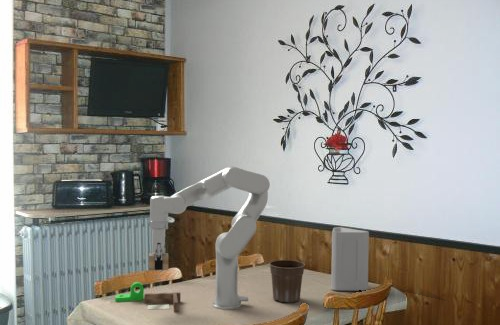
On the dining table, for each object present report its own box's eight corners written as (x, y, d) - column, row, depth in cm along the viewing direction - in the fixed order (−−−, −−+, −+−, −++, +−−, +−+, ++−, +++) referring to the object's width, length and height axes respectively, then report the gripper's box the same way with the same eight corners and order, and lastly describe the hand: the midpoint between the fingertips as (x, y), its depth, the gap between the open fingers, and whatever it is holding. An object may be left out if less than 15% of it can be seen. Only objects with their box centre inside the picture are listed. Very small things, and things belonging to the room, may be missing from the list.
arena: (180, 301, 240) (180, 292, 240) (182, 312, 224) (182, 302, 224) (144, 302, 237) (144, 293, 237) (143, 313, 222) (143, 303, 222)
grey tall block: (318, 285, 270) (319, 229, 269) (338, 281, 280) (339, 226, 279) (348, 294, 255) (349, 234, 255) (368, 289, 265) (369, 231, 264)
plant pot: (308, 303, 239) (309, 267, 238) (272, 304, 236) (273, 267, 236) (299, 293, 255) (300, 259, 254) (265, 294, 252) (266, 260, 252)
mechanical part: (142, 297, 247) (142, 279, 246) (143, 300, 241) (143, 282, 241) (114, 299, 243) (114, 281, 243) (115, 302, 237) (115, 284, 237)
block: (149, 267, 232) (149, 253, 232) (168, 267, 233) (168, 253, 233) (148, 270, 227) (149, 256, 227) (168, 269, 228) (168, 255, 228)
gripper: (150, 222, 237) (149, 264, 238) (149, 228, 221) (149, 273, 221) (167, 222, 239) (167, 263, 239) (168, 228, 222) (168, 272, 222)
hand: (158, 267), depth 230 cm, fingers closed on block, 5 cm apart
